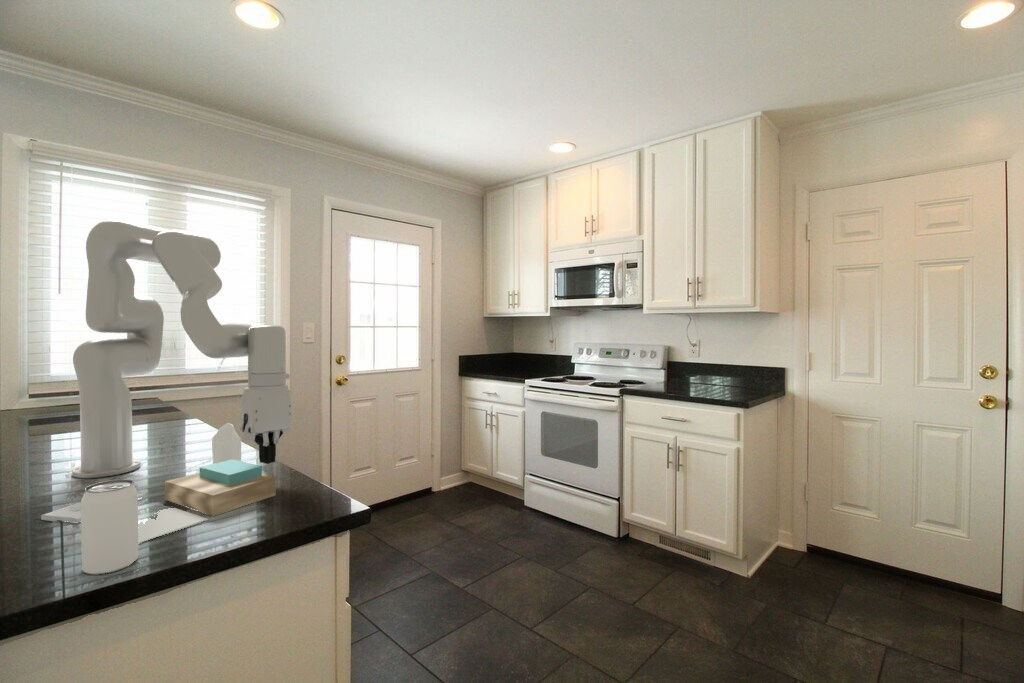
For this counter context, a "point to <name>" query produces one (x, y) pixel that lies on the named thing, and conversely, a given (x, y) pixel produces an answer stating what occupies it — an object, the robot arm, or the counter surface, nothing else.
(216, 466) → the teal sticky note pad
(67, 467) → the counter surface
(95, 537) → the can
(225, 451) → the white tall lump
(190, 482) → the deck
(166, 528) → the mat
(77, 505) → the external hard drive
